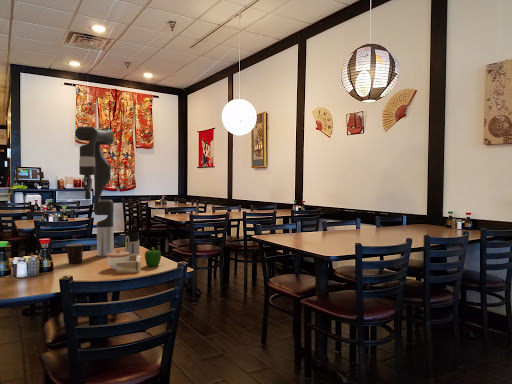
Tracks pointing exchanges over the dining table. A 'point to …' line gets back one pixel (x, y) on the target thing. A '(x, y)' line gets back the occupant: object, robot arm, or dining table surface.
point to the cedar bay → (129, 264)
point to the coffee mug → (75, 253)
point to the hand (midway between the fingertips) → (87, 199)
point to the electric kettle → (132, 242)
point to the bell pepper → (152, 257)
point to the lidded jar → (117, 258)
